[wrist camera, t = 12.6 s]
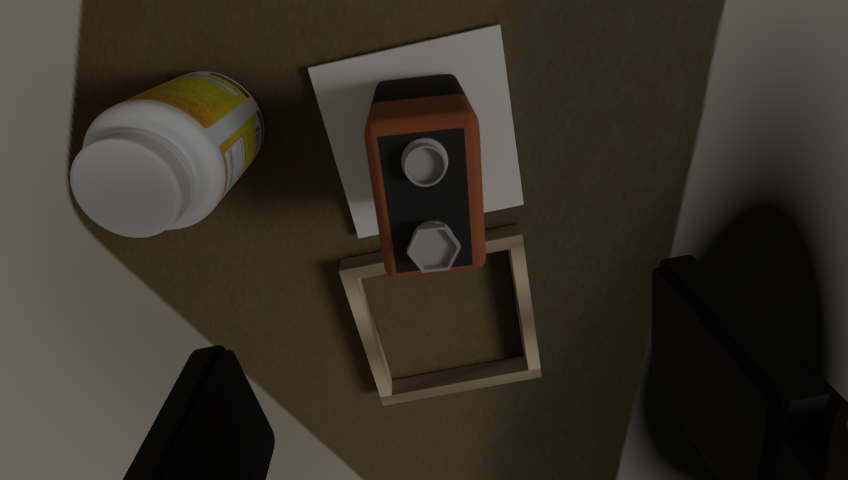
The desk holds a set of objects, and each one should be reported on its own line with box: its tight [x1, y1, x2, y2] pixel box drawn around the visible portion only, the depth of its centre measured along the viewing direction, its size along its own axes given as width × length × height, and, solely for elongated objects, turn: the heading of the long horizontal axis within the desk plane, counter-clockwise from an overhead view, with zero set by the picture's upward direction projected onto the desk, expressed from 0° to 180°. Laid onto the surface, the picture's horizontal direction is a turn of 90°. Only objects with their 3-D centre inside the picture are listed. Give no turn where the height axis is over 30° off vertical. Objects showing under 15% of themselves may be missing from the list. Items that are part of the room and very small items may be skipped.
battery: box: [364, 74, 486, 277], centre depth 24 cm, size 4×7×10 cm, turn 6°
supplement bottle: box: [70, 71, 264, 238], centre depth 24 cm, size 6×6×10 cm
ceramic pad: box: [308, 24, 524, 238], centre depth 29 cm, size 10×10×1 cm
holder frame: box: [339, 224, 542, 406], centre depth 34 cm, size 11×11×2 cm
